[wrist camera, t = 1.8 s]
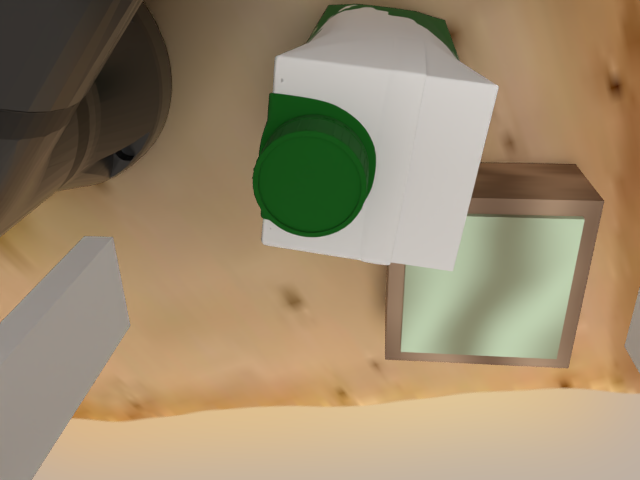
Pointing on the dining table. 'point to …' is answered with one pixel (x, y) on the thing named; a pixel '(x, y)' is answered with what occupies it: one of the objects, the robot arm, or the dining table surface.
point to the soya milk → (372, 140)
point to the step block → (503, 274)
